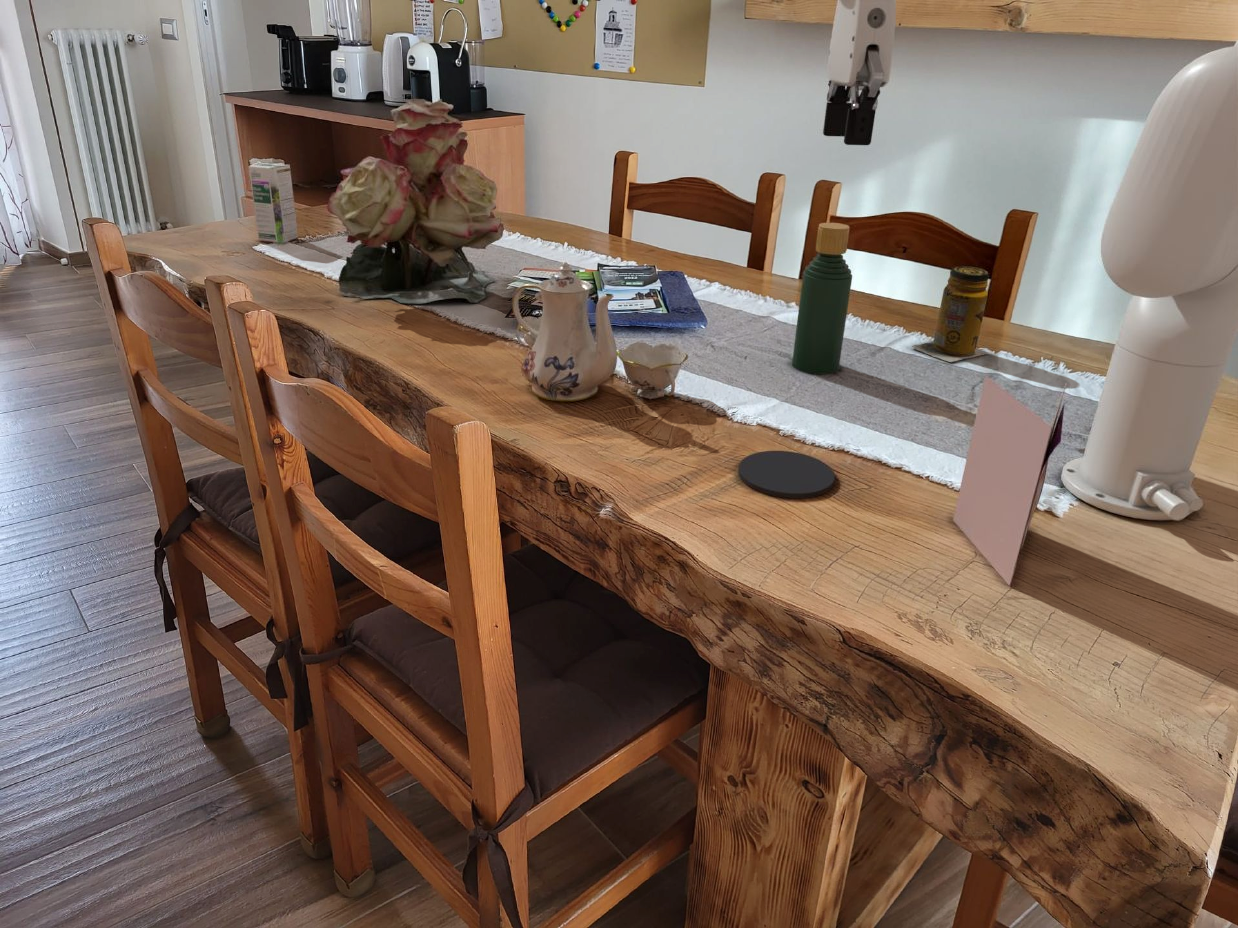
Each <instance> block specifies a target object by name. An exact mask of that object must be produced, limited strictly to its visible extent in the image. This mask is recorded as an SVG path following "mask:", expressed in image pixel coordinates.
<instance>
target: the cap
mask: <svg viewBox="0 0 1238 928" xmlns="http://www.w3.org/2000/svg"><path fill="white" fill-rule="evenodd" d="M849 237H850V226H849V225H848V224H845V223H840V222H821V223H819V224H818V228H817V235H816V242H815V251H816V252H817V253H824V254H832V255H839V254H841V255H845V254H846V253H847V250H848V244H849Z"/></svg>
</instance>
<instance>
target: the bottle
mask: <svg viewBox="0 0 1238 928" xmlns="http://www.w3.org/2000/svg"><path fill="white" fill-rule="evenodd" d="M812 259H813V260H811V261H809V264H808V265H806V266H805V268H804V270H803V272H802V279H801V288H800V296H799V304H798V312H797V319H796V329H795V337H794V345H793V352H792V360H791V365H792V367H793V368H794V369H796V370H798V371H800V372H803V373H807V374H813V375H830V374H835V373H837V372H838V371H839V369H840V363H841V355H842V350H843V343H844V342H843V341H844V335H845V330H846V322H847V316H848V309H849V308H848V307H849V301H850V295H851V288H852V283H853V281H852V280H853V274H852V270H851V268H849V264H848V263H847V260H846V259H844V254H839V255H832V254H824V253H820V252H817V255H816V256H814V257H813V258H812Z"/></svg>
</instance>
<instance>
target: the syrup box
mask: <svg viewBox="0 0 1238 928" xmlns="http://www.w3.org/2000/svg"><path fill="white" fill-rule="evenodd" d="M290 166H291V165H290V164H282V163H281V164H279V163H270V162H269V163H268V162H259V163H255V164H254V163H253V164H251V165H249V166H248V174H249V182H250V188H251V189H250V190H251V194H252V202H253V203H252V204H253V209H254V215H255V225H256V231H257V239H258V242H268V243H269V242H270V243H277V244H285V243H288V242H290V241H293V240H295V239H299V232H298V223H297V214H296V207H295V197H294V190H293V182H292V180H293V179H292V173H291V167H290Z"/></svg>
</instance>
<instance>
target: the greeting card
mask: <svg viewBox="0 0 1238 928" xmlns="http://www.w3.org/2000/svg"><path fill="white" fill-rule="evenodd" d="M1066 386H1067V383H1065V385H1064V388H1063V390H1062V394H1061V397H1060V400H1059V403H1058V406H1057V409H1056V412H1055V415H1054V419H1053V421H1052V424H1051V425H1050V424H1049V423H1048V422H1047V421H1046V420H1044V419H1043V418H1042V417H1040V416H1039V415H1037V414H1036V413H1035V412H1033V411H1032V410H1031V409H1030V408H1028V407H1027V406H1026V405H1025V404H1023V403H1022V402H1021V401H1020V400H1018V399H1017V398H1016V397H1014V396H1013V395H1012V394H1011V393H1009V392H1008V391H1007V390H1006V389H1004V388H1003V387H1002V386H1000V385H999V384H998V383H997V382H995V381H994V380H992V379H991V378H990V377H989V376H987V375H986V374H985V375H984V379H983V384H982V388H981V393H980V397H979V402H978V407H977V410H976V415H975V419H974V424H973V428H972V433H971V437H970V441H969V447H968V451H967V455H966V460H965V463H964V469H963V473H962V478H961V483H960V487H959V491H958V495H957V500H956V504H955V510H954V514H953V518H952V521H953V522H954V523H955V525H957V527H958V528H959V529H960V531H962V533H963V534H964V535H965V536H966V537H967V538H968V539H969V541H971V543H972V545H974V546H975V548H976V549H977V550H978V551H979V552H980V553H981V555H982V557H984V558H985V559H986V561H987V562H988V563H989V564H990V565H991V567H993V569H994V570H995V571H996V572H997V573H998V575H999V576H1000V577H1001V578H1002V579H1003V580H1004V582H1005V583H1006V584H1007V585H1008V586H1009V587H1010V586H1011V585H1012V581H1013V578H1014V575H1015V571H1016V568H1017V565H1018V562H1019V559H1020V557H1021V553H1022V550H1023V546H1024V542H1025V539H1026V537H1027V534H1028V531H1029V527H1030V524H1031V522H1032V520H1033V517H1034V515H1035V512H1036V510H1037V507H1038V504H1039V502H1040V499H1041V496H1042V493H1043V489H1044V485H1045V480H1046V475H1047V469H1048V464H1049V460H1050V459H1049V458H1050V456H1051V455H1052V454H1053V452H1054V451H1055V450H1056V448H1057V447H1058V446H1059V444H1060V443H1061V441H1062V433H1063V423H1064V412H1065V402H1063V397H1064V395H1065V394H1064V393H1065V390H1066ZM1062 402H1063V405H1062ZM1061 406H1062V407H1061Z"/></svg>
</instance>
